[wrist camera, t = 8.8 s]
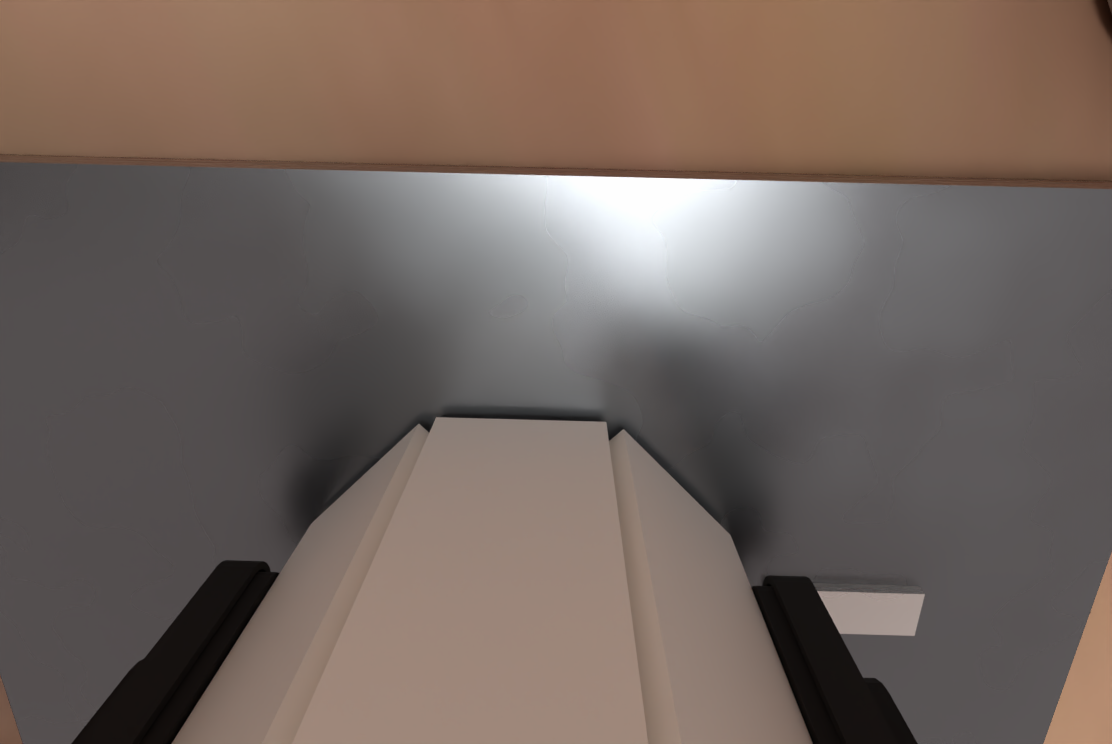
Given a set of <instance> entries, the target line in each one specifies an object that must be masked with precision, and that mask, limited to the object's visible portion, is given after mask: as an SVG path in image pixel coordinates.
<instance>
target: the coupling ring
mask: <svg viewBox="0 0 1112 744" xmlns="http://www.w3.org/2000/svg"><path fill="white" fill-rule="evenodd" d="M172 744H813V742H812V740H811V737H810V735H809V732H808V730H807V727H806V725H805V722H804V720H803V717H802V715H801V712H800V710H799V707H798V705H797V702H796V699H795V697H794V694H793V692H792V689H791V687H790V684H789V682H788V679H787V677H786V674H785V672H784V669H783V667H782V664H781V661H780V659H779V656H778V654H777V651H776V649H775V646H774V644H773V641H772V639H771V636H770V634H769V631H768V629H767V626H766V624H765V621H764V618H763V616H762V613H761V611H760V608H759V606H758V603H757V601H756V598H755V596H754V593H753V591H752V588H751V586H750V583H749V581H748V578H747V575H746V573H745V570H744V568H743V565H742V563H741V560H740V558H739V555H738V553H737V550H736V548H735V545H734V543H733V540H732V537H731V535H730V534H729V533H728V532H727V531H726V530H725V529H724V528H723V527H722V526H721V525H720V524H719V523H718V522H717V521H716V520H715V519H714V518H713V517H712V516H711V515H710V514H709V513H708V512H707V511H706V510H705V509H704V508H703V507H702V506H701V505H700V504H699V503H698V502H697V501H696V500H695V499H694V498H693V497H692V496H691V495H690V494H689V493H688V492H687V491H686V490H685V489H684V488H683V487H682V486H681V485H680V484H679V483H678V482H677V481H676V480H675V479H674V478H673V477H672V476H671V475H670V474H669V473H668V472H667V471H666V470H665V469H663V468H662V467H661V466H660V465H659V464H658V463H657V462H656V461H655V460H654V459H653V458H652V457H651V456H650V455H649V454H648V453H647V452H646V451H645V450H644V449H643V448H642V447H641V446H640V445H639V444H638V443H637V442H636V441H635V440H634V439H633V438H632V437H631V436H630V435H629V434H628V433H627V432H626V431H625V430H624V429H623V430H622V431H621V432H619V433H618V434H617V435H616V436H615V437H613V438H612V439H611V440H610V441H609V439H608V431H607V423H606V422H595V421H558V420H521V419H484V418H446V417H436V419H435V421H434V423H433V426H432V428H431V430H430V432H428V431H427V430H426V429H425V428H423V427H422V426H421V425H420V424H418V425H417V426H416V427H414V428H413V429H412V430H411V431H410V432H409V433H408V434H407V435H406V436H405V437H404V438H403V439H402V440H401V441H399V442H398V443H397V444H396V445H395V446H394V447H393V448H392V449H391V450H390V451H389V452H388V453H387V454H385V455H384V456H383V457H382V458H381V459H380V460H379V461H378V462H377V463H376V464H375V465H374V466H373V467H371V468H370V469H369V470H368V471H367V472H366V473H365V474H364V475H363V476H362V477H361V478H360V479H359V480H358V481H356V482H355V483H354V484H353V485H352V486H351V487H350V488H349V489H348V490H347V491H346V492H345V493H344V494H342V495H341V496H340V497H339V498H338V499H337V500H336V501H335V502H334V503H333V504H332V505H331V506H330V507H329V508H327V509H326V510H325V511H324V512H323V513H322V514H321V515H320V516H319V517H318V518H317V519H316V520H315V521H313V522H312V523H311V525H310V526H309V528H308V530H307V531H306V533H305V534H304V536H303V537H302V539H301V541H300V542H299V544H298V545H297V547H296V548H295V550H294V552H293V553H292V555H291V556H290V558H289V559H288V561H287V563H286V564H285V566H284V567H283V569H282V570H281V572H280V574H279V575H278V577H277V578H276V580H275V582H274V583H273V585H272V586H271V588H270V589H269V591H268V593H267V594H266V596H265V597H264V599H263V600H262V602H261V604H260V605H259V607H258V608H257V610H256V611H255V613H254V615H253V616H252V618H251V619H250V621H249V622H248V624H247V626H246V627H245V629H244V630H243V632H242V633H241V635H240V637H239V638H238V640H237V641H236V643H235V644H234V646H233V648H232V649H231V651H230V652H229V654H228V655H227V657H226V659H225V660H224V662H223V663H222V665H221V666H220V668H219V670H218V671H217V673H216V674H215V676H214V678H213V679H212V681H211V682H210V684H209V685H208V687H207V689H206V690H205V692H204V693H203V695H202V696H201V698H200V700H199V701H198V703H197V704H196V706H195V707H194V709H193V711H192V712H191V714H190V715H189V717H188V718H187V720H186V722H185V723H184V725H183V726H182V728H181V729H180V731H179V733H178V734H177V736H176V737H175V739H174V740H173V742H172Z"/></svg>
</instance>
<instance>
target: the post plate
mask: <svg viewBox="0 0 1112 744" xmlns="http://www.w3.org/2000/svg"><path fill="white" fill-rule="evenodd" d="M436 417H446V418H484V419H521V420H558V421H595V422H606V423H607V431H608V439H609V441H610V440H611V439H612V438H613V437H615V436H616V435H617V434H618V433H619V432H621V431H622V430H623V429H624V430H625V431H626V432H627V433H628V434H629V435H630V436H631V437H632V438H633V439H634V440H635V441H636V442H637V443H638V444H639V445H640V446H641V447H642V448H643V449H644V450H645V451H646V452H647V453H648V454H649V455H650V456H651V457H652V458H653V459H654V460H655V461H656V462H657V463H658V464H659V465H660V466H661V467H662V468H663V469H665V470H666V471H667V472H668V473H669V474H670V475H671V476H672V477H673V478H674V479H675V480H676V481H677V482H678V483H679V484H680V485H681V486H682V487H683V488H684V489H685V490H686V491H687V492H688V493H689V494H690V495H691V496H692V497H693V498H694V499H695V500H696V501H697V502H698V503H699V504H700V505H701V506H702V507H703V508H704V509H705V510H706V511H707V512H708V513H709V514H710V515H711V516H712V517H713V518H714V519H715V520H716V521H717V522H718V523H719V524H720V525H721V526H722V527H723V528H724V529H725V530H726V531H727V532H728V533H729V534H730V535H731V537H732V540H733V543H734V545H735V548H736V550H737V553H738V555H739V558H740V560H741V563H742V565H743V568H744V570H745V573H746V575H747V578H748V581H749V583H750V586H751V588H752V586H763V581H764V579H765V577H766V576H768V575H771V576H806V577H808V578H810V580H811V581H812V582H813V584H814V586H815V588H816V590H817V592H818V594H819V596H820V597H821V599H822V601H823V603H824V605H825V607H826V609H827V611H828V612H829V614H830V616H831V618H832V620H833V622H834V624H835V626H836V628H837V629H838V631H839V633H840V635H841V637H842V639H843V641H844V643H845V645H846V646H847V648H848V650H849V652H850V654H851V656H852V658H853V660H854V661H855V663H856V665H857V667H858V669H859V671H860V673H861V675H862V677H863V678H876V679H877V680H879V681H880V682H882V683H883V685H884V686H885V688H886V689H887V690H888V692H889V693H890V695H891V697H892V699H893V701H894V702H895V704H896V706H897V708H898V709H899V711H900V713H901V715H902V717H903V718H904V720H905V722H906V724H907V725H908V727H909V729H910V731H911V733H912V734H913V736H914V738H915V740H916V741H917V743H918V744H1043V743H1044V740H1045V737H1046V734H1047V732H1048V729H1049V726H1050V723H1051V720H1052V718H1053V715H1054V712H1055V709H1056V706H1057V704H1058V701H1059V698H1060V695H1061V692H1062V689H1063V687H1064V684H1065V681H1066V678H1067V675H1068V673H1069V670H1070V667H1071V664H1072V661H1073V659H1074V656H1075V653H1076V650H1077V647H1078V645H1079V642H1080V639H1081V636H1082V633H1083V630H1084V628H1085V625H1086V622H1087V619H1088V616H1089V614H1090V611H1091V608H1092V605H1093V602H1094V600H1095V597H1096V594H1097V591H1098V588H1099V586H1100V583H1101V580H1102V577H1103V574H1104V572H1105V569H1106V566H1107V563H1108V560H1109V557H1110V555H1111V552H1112V182H1110V181H1069V180H1028V179H987V178H946V177H905V176H864V175H822V174H781V173H740V172H699V171H658V170H617V169H576V168H535V167H494V166H452V165H411V164H370V163H329V162H288V161H247V160H206V159H165V158H123V157H82V156H41V155H0V675H1V678H2V681H3V684H4V687H5V690H6V693H7V696H8V700H9V703H10V706H11V709H12V712H13V715H14V718H15V721H16V724H17V727H18V730H19V733H20V736H21V739H22V742H23V744H71V743H72V742H73V741H74V739H75V738H76V737H77V736H78V734H79V733H80V732H81V731H82V729H83V728H84V727H85V726H86V724H87V723H88V722H89V721H90V719H91V718H92V717H93V716H94V714H95V713H96V712H97V711H98V709H99V708H100V707H101V706H102V704H103V703H104V702H105V701H106V699H107V698H108V697H109V696H110V694H111V693H112V692H113V690H114V689H115V688H116V687H117V685H118V684H119V683H120V682H121V680H122V679H123V678H124V677H125V675H126V674H127V673H128V672H129V670H130V669H131V668H132V667H133V666H134V665H135V664H136V663H137V662H138V661H140V660H142V659H144V658H145V657H146V656H147V654H148V653H149V652H150V651H151V649H152V648H153V647H154V645H155V644H156V643H157V642H158V640H159V639H160V638H161V637H162V635H163V634H164V633H165V631H166V630H167V629H168V628H169V626H170V625H171V624H172V623H173V621H174V620H175V619H176V617H177V616H178V615H179V614H180V612H181V611H182V610H183V609H184V607H185V606H186V605H187V604H188V602H189V601H190V600H191V598H192V597H193V596H194V595H195V593H196V592H197V591H198V590H199V588H200V587H201V586H202V584H203V583H204V582H205V581H206V579H207V578H208V577H209V576H210V574H211V573H212V572H213V570H214V569H215V568H216V567H217V566H218V565H219V564H220V563H221V562H222V561H225V560H238V561H264V562H266V563H267V564H268V565H269V567H270V571H271V572H278V573H279V574H280V572H281V570H282V569H283V567H284V566H285V564H286V563H287V561H288V559H289V558H290V556H291V555H292V553H293V552H294V550H295V548H296V547H297V545H298V544H299V542H300V541H301V539H302V537H303V536H304V534H305V533H306V531H307V530H308V528H309V526H310V525H311V523H312V522H313V521H315V520H316V519H317V518H318V517H319V516H320V515H321V514H322V513H323V512H324V511H325V510H326V509H327V508H329V507H330V506H331V505H332V504H333V503H334V502H335V501H336V500H337V499H338V498H339V497H340V496H341V495H342V494H344V493H345V492H346V491H347V490H348V489H349V488H350V487H351V486H352V485H353V484H354V483H355V482H356V481H358V480H359V479H360V478H361V477H362V476H363V475H364V474H365V473H366V472H367V471H368V470H369V469H370V468H371V467H373V466H374V465H375V464H376V463H377V462H378V461H379V460H380V459H381V458H382V457H383V456H384V455H385V454H387V453H388V452H389V451H390V450H391V449H392V448H393V447H394V446H395V445H396V444H397V443H398V442H399V441H401V440H402V439H403V438H404V437H405V436H406V435H407V434H408V433H409V432H410V431H411V430H412V429H413V428H414V427H416V426H417V425H418V424H420V425H421V426H422V427H423V428H425V429H426V430H427V431H428V432H430V430H431V428H432V426H433V423H434V421H435V419H436Z"/></svg>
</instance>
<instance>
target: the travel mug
mask: <svg viewBox="0 0 1112 744" xmlns="http://www.w3.org/2000/svg"><path fill="white" fill-rule="evenodd" d="M1107 1H1108V4H1109V7H1110V10H1111V14H1112V0H1107Z"/></svg>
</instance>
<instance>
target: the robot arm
mask: <svg viewBox="0 0 1112 744" xmlns="http://www.w3.org/2000/svg"><path fill="white" fill-rule="evenodd" d="M278 575H279V573H278V572H271V571H270V567H269V565H268V564H267V563H266V562H264V561H238V560H225V561H222V562H221V563H220V564H219V565H218V566H217V567H216V568H215V569H214V570H213V572H212V573H211V574H210V576H209V577H208V578H207V579H206V581H205V582H204V583H203V584H202V586H201V587H200V588H199V590H198V591H197V592H196V593H195V595H194V596H193V597H192V598H191V600H190V601H189V602H188V604H187V605H186V606H185V607H184V609H183V610H182V611H181V612H180V614H179V615H178V616H177V617H176V619H175V620H174V621H173V623H172V624H171V625H170V626H169V628H168V629H167V630H166V631H165V633H164V634H163V635H162V637H161V638H160V639H159V640H158V642H157V643H156V644H155V645H154V647H153V648H152V649H151V651H150V652H149V653H148V654H147V656H146V657H145V658H144V659H142V660H140V661H138V662H137V663H136V664H135V665H134V666H133V667H132V668H131V669H130V670H129V672H128V673H127V674H126V675H125V677H124V678H123V679H122V680H121V682H120V683H119V684H118V685H117V687H116V688H115V689H114V690H113V692H112V693H111V694H110V696H109V697H108V698H107V699H106V701H105V702H104V703H103V704H102V706H101V707H100V708H99V709H98V711H97V712H96V713H95V714H94V716H93V717H92V718H91V719H90V721H89V722H88V723H87V724H86V726H85V727H84V728H83V729H82V731H81V732H80V733H79V734H78V736H77V737H76V738H75V739H74V741H73V742H72V743H71V744H172V742H173V740H174V739H175V737H176V736H177V734H178V733H179V731H180V729H181V728H182V726H183V725H184V723H185V722H186V720H187V718H188V717H189V715H190V714H191V712H192V711H193V709H194V707H195V706H196V704H197V703H198V701H199V700H200V698H201V696H202V695H203V693H204V692H205V690H206V689H207V687H208V685H209V684H210V682H211V681H212V679H213V678H214V676H215V674H216V673H217V671H218V670H219V668H220V666H221V665H222V663H223V662H224V660H225V659H226V657H227V655H228V654H229V652H230V651H231V649H232V648H233V646H234V644H235V643H236V641H237V640H238V638H239V637H240V635H241V633H242V632H243V630H244V629H245V627H246V626H247V624H248V622H249V621H250V619H251V618H252V616H253V615H254V613H255V611H256V610H257V608H258V607H259V605H260V604H261V602H262V600H263V599H264V597H265V596H266V594H267V593H268V591H269V589H270V588H271V586H272V585H273V583H274V582H275V580H276V578H277V577H278ZM752 591H753V593H754V596H755V598H756V601H757V603H758V606H759V608H760V611H761V613H762V616H763V618H764V621H765V624H766V626H767V629H768V631H769V634H770V636H771V639H772V641H773V644H774V646H775V649H776V651H777V654H778V656H779V659H780V661H781V664H782V667H783V669H784V672H785V674H786V677H787V679H788V682H789V684H790V687H791V689H792V692H793V694H794V697H795V699H796V702H797V705H798V707H799V710H800V712H801V715H802V717H803V720H804V722H805V725H806V727H807V730H808V732H809V735H810V737H811V740H812V742H813V744H918V743H917V741H916V740H915V738H914V736H913V734H912V733H911V731H910V729H909V727H908V725H907V724H906V722H905V720H904V718H903V717H902V715H901V713H900V711H899V709H898V708H897V706H896V704H895V702H894V701H893V699H892V697H891V695H890V693H889V692H888V690H887V689H886V688H885V686H884V685H883V683H882V682H880V681H879V680H877V679H876V678H863V677H862V675H861V673H860V671H859V669H858V667H857V665H856V663H855V661H854V660H853V658H852V656H851V654H850V652H849V650H848V648H847V646H846V645H845V643H844V641H843V639H842V637H841V635H840V633H839V631H838V629H837V628H836V626H835V624H834V622H833V620H832V618H831V616H830V614H829V612H828V611H827V609H826V607H825V605H824V603H823V601H822V599H821V597H820V596H819V594H818V592H817V590H816V588H815V586H814V584H813V582H812V581H811V580H810V578H808V577H806V576H771V575H768V576H766V577H765V579H764V581H763V586H752Z"/></svg>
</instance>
